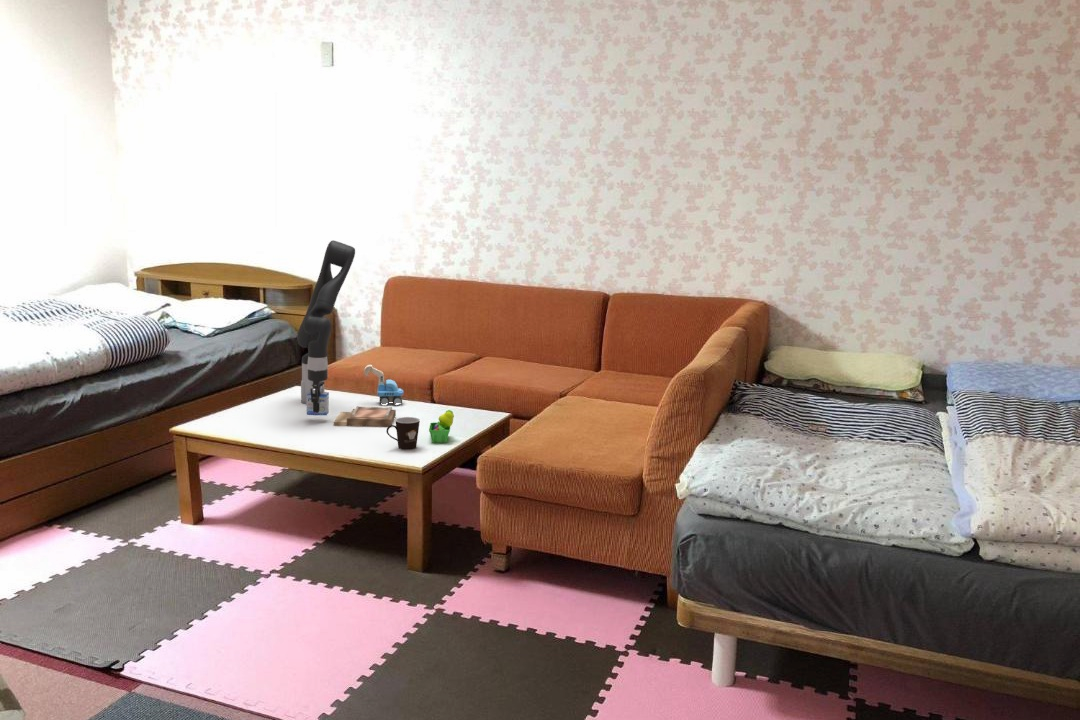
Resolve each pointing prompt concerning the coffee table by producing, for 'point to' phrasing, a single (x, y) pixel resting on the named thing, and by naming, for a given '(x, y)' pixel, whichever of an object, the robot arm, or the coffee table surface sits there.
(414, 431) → the coffee mug
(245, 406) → the coffee table surface
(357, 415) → the tan shallow tray
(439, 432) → the fruit basket
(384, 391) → the toy excavator
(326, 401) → the medicine box
